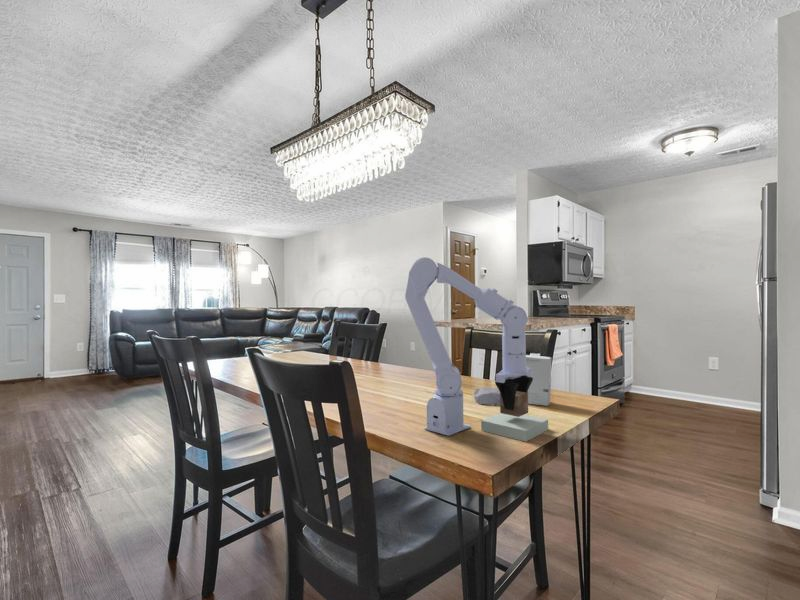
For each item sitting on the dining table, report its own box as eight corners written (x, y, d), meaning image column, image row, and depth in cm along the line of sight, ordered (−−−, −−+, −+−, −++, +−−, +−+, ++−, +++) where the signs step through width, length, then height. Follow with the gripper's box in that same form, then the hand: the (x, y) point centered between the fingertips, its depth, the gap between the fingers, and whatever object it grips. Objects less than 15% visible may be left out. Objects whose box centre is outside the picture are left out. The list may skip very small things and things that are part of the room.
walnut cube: (518, 416, 97) (518, 396, 97) (500, 413, 100) (500, 393, 101) (528, 412, 101) (528, 392, 101) (510, 409, 104) (510, 389, 104)
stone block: (478, 411, 125) (509, 405, 124) (474, 396, 125) (506, 389, 125) (473, 402, 137) (502, 397, 136) (470, 389, 137) (499, 383, 136)
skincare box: (521, 403, 126) (521, 356, 126) (525, 399, 131) (524, 354, 131) (549, 406, 122) (549, 358, 122) (552, 402, 127) (551, 355, 128)
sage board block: (526, 443, 92) (525, 430, 92) (481, 432, 100) (481, 420, 100) (548, 431, 100) (548, 419, 101) (505, 421, 109) (505, 410, 109)
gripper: (514, 357, 93) (514, 416, 92) (542, 351, 103) (542, 404, 103) (487, 355, 97) (488, 410, 97) (516, 349, 108) (517, 399, 108)
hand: (514, 407), depth 100 cm, fingers closed on walnut cube, 5 cm apart
